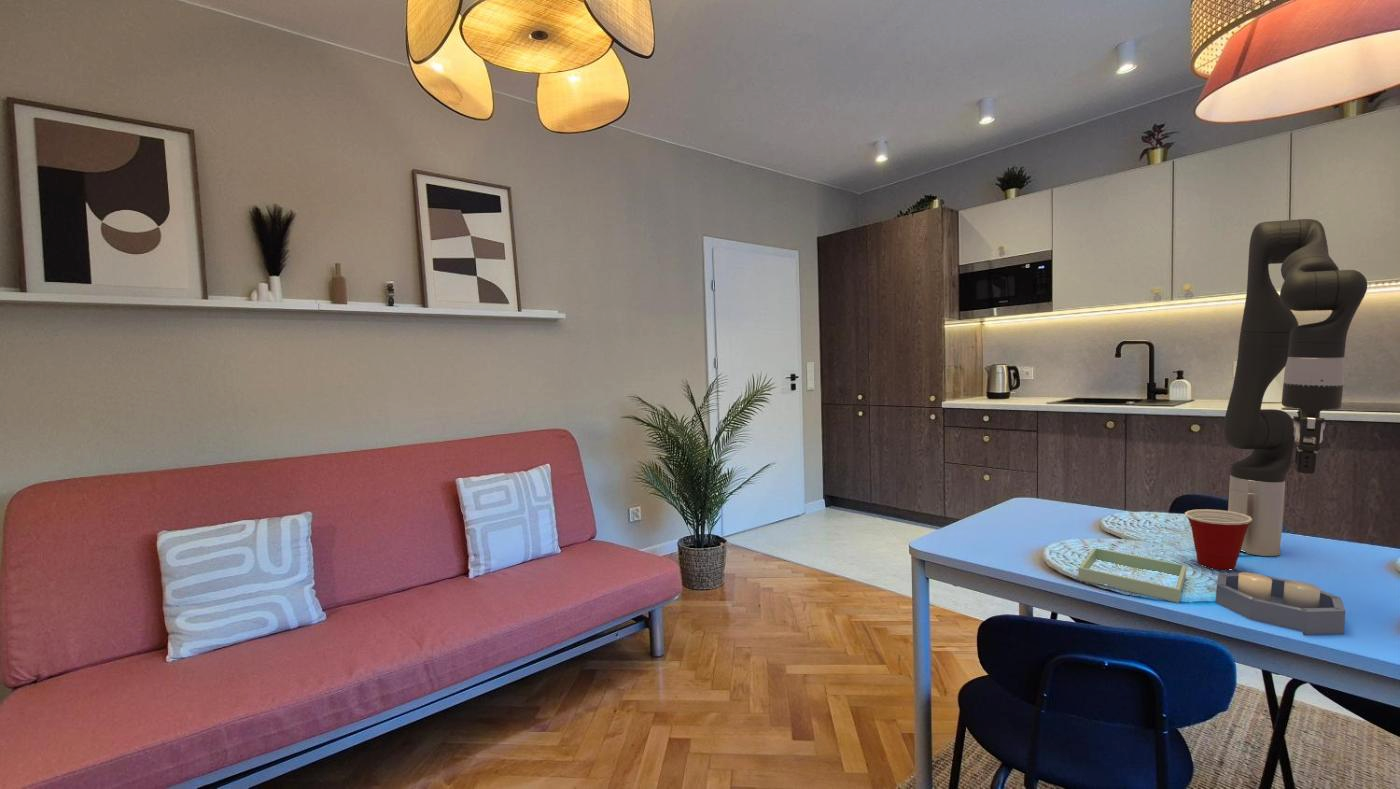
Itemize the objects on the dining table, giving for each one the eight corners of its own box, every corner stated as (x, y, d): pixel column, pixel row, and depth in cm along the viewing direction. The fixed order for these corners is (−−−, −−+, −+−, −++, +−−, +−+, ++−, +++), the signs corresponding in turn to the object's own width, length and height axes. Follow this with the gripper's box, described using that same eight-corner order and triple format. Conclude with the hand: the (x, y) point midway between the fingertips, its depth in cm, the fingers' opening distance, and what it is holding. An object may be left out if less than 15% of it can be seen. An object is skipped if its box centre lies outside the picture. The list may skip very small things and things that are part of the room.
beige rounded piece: (1281, 604, 105) (1283, 578, 104) (1316, 612, 102) (1319, 585, 101) (1283, 613, 102) (1285, 586, 101) (1319, 621, 99) (1321, 593, 98)
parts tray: (1093, 560, 130) (1093, 547, 129) (1185, 579, 119) (1186, 565, 118) (1077, 581, 118) (1078, 567, 118) (1178, 605, 107) (1179, 589, 107)
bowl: (1218, 586, 115) (1219, 566, 115) (1336, 610, 104) (1338, 589, 104) (1214, 613, 104) (1215, 592, 103) (1347, 644, 93) (1349, 620, 92)
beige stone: (1237, 595, 109) (1240, 570, 108) (1270, 603, 106) (1272, 577, 105) (1235, 603, 106) (1237, 577, 105) (1269, 611, 103) (1271, 584, 102)
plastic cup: (1175, 555, 132) (1177, 504, 131) (1236, 563, 127) (1240, 510, 126) (1190, 572, 122) (1193, 517, 121) (1257, 581, 117) (1261, 524, 116)
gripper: (1347, 386, 97) (1337, 479, 99) (1339, 380, 107) (1331, 465, 109) (1284, 383, 102) (1276, 472, 104) (1282, 378, 112) (1275, 459, 114)
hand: (1304, 468), depth 106 cm, fingers open, 8 cm apart
